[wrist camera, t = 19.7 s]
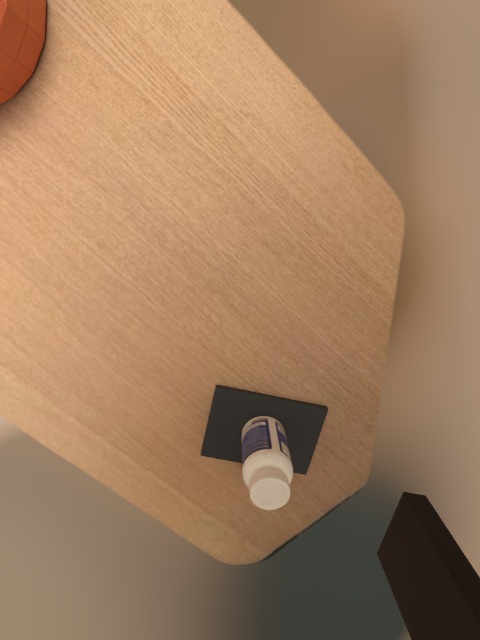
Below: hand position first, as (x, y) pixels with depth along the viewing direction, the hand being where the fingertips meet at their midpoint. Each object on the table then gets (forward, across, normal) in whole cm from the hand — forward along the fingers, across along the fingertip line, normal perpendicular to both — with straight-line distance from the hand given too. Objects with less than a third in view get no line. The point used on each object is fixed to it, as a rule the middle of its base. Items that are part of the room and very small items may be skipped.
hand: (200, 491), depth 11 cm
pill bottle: (+27, +7, -16) cm, 33 cm away
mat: (+28, +7, -16) cm, 33 cm away
